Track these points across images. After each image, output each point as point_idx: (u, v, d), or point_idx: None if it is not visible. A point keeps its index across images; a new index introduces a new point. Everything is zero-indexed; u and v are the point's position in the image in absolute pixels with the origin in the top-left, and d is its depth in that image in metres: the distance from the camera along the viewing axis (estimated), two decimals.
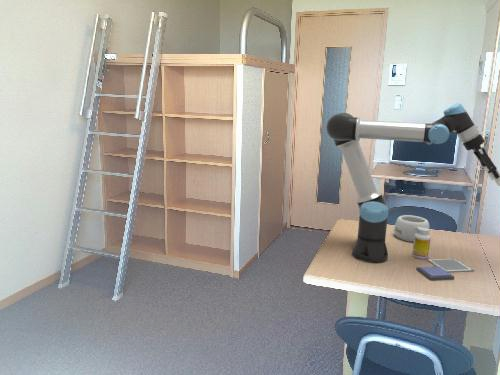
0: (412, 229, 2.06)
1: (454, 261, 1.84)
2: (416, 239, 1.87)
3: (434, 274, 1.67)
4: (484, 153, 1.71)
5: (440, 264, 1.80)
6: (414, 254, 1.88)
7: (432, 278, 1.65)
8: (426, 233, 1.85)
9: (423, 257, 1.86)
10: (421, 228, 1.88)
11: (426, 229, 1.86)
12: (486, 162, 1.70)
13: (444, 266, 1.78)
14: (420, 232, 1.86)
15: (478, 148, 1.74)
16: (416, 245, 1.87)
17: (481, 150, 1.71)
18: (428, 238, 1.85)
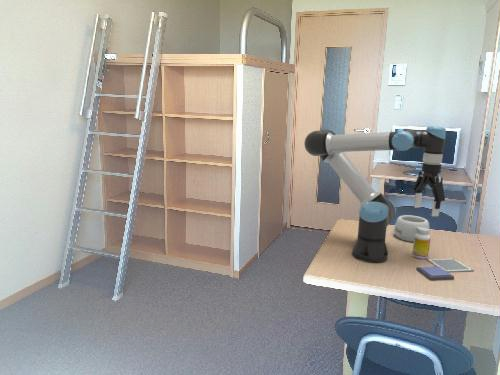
0: (412, 229, 2.06)
1: (454, 261, 1.84)
2: (416, 239, 1.87)
3: (434, 274, 1.67)
4: (441, 182, 1.75)
5: (440, 264, 1.80)
6: (414, 254, 1.88)
7: (432, 278, 1.65)
8: (426, 233, 1.85)
9: (423, 257, 1.86)
10: (421, 228, 1.88)
11: (426, 229, 1.86)
12: (439, 191, 1.74)
13: (444, 266, 1.78)
14: (420, 232, 1.86)
15: (435, 175, 1.78)
16: (416, 245, 1.87)
17: (440, 178, 1.75)
18: (428, 238, 1.85)
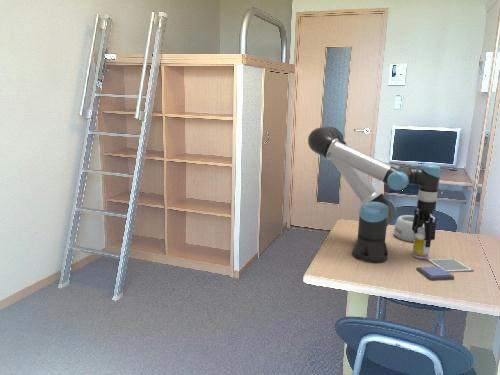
0: None
1: (454, 261, 1.84)
2: (416, 239, 1.86)
3: (434, 274, 1.67)
4: (434, 222, 1.80)
5: (440, 264, 1.80)
6: (414, 254, 1.88)
7: (432, 278, 1.65)
8: None
9: (423, 257, 1.86)
10: (421, 228, 1.88)
11: None
12: (431, 231, 1.80)
13: (444, 266, 1.78)
14: (420, 232, 1.86)
15: (430, 212, 1.81)
16: (416, 245, 1.87)
17: (434, 219, 1.79)
18: None
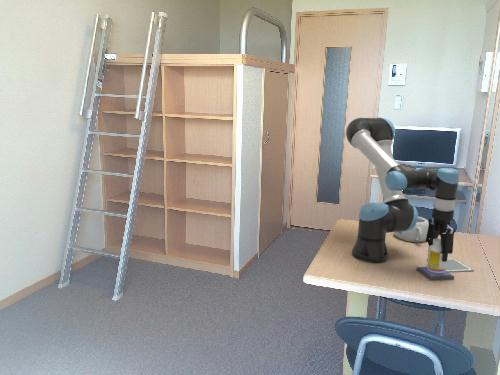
0: (412, 229, 2.06)
1: (454, 261, 1.84)
2: (431, 252, 1.67)
3: (434, 274, 1.67)
4: (452, 234, 1.60)
5: None
6: (429, 268, 1.69)
7: (432, 278, 1.65)
8: None
9: (439, 272, 1.67)
10: (437, 239, 1.68)
11: None
12: (448, 243, 1.61)
13: None
14: (436, 244, 1.66)
15: (448, 223, 1.62)
16: (431, 259, 1.67)
17: (452, 230, 1.60)
18: None
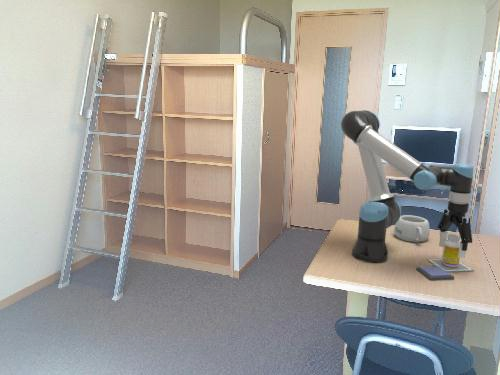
0: (412, 229, 2.06)
1: None
2: (446, 247, 1.77)
3: (434, 274, 1.67)
4: (468, 223, 1.69)
5: (440, 264, 1.80)
6: (444, 262, 1.79)
7: (432, 278, 1.65)
8: (457, 240, 1.75)
9: (454, 266, 1.77)
10: (451, 235, 1.78)
11: (457, 236, 1.76)
12: (467, 232, 1.68)
13: (444, 266, 1.78)
14: (451, 239, 1.76)
15: (463, 215, 1.72)
16: (446, 253, 1.77)
17: (468, 219, 1.69)
18: None
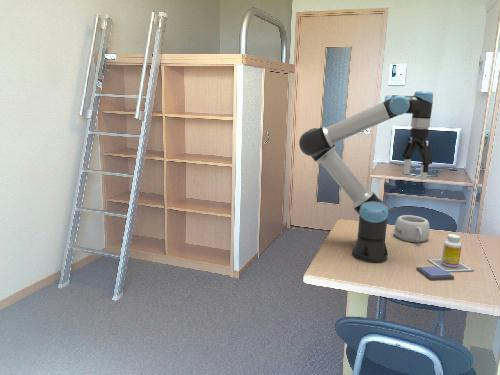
0: (412, 229, 2.06)
1: None
2: (446, 246, 1.77)
3: (434, 274, 1.67)
4: (428, 146, 1.78)
5: (440, 264, 1.80)
6: (444, 262, 1.79)
7: (432, 278, 1.65)
8: (457, 240, 1.76)
9: (454, 266, 1.77)
10: (451, 235, 1.78)
11: (457, 236, 1.77)
12: (427, 154, 1.77)
13: (444, 266, 1.78)
14: (450, 239, 1.76)
15: (423, 139, 1.81)
16: (446, 253, 1.77)
17: (428, 142, 1.78)
18: (459, 246, 1.75)
